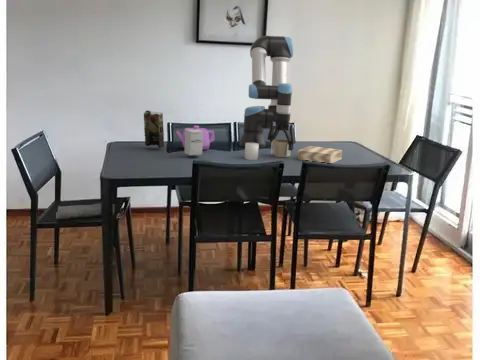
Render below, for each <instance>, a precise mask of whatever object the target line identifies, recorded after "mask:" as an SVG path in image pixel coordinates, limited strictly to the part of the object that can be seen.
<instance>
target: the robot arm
mask: <svg viewBox="0 0 480 360" xmlns="http://www.w3.org/2000/svg"><path fill="white" fill-rule="evenodd" d="M293 43H294V42H293V39H292V38H291V37H289V36H282V35H281V36H279V35H278V36H277V35H262V36H259V37H258V38H257V39H256V40H255V41H253V43H252V45H251V47H250V50H249V55H250V58H251V83H250V84H249V85H248V98H250V99H255V100H270V104H269V105H268V106H267V107H268V108H266V107H265V106H264V105H255V106H248V107H246V108H245V109H244V114H243V119H244V120H243V133H242V135H241V137H240V140H239V141H240V142H239V146H240V147H243V148H245V143H248V142H253V143H258V144H259V149H262V148H265V147H266V144H267V143H266V139H267V140H269V142H270V144H269V147H270V154H271V155H273V154H274V144H273V140H274V139H277V136H278V134H279V133H280V131H282V132H283V133H284V134H285V137H286V140H287V141H288V144H287V153H286V157H291V151H292V149H293V144H296V142H297V141H296V134H295V124H291V123H290V120H291V111H292V96H293V95H292V94H293V85H292V84H291V83H287V80H288V79H287V76H288V63H289V62H290V61H291V58H293V57H294V44H293ZM267 57H269V59H270V61H271V63H272V69H271V70H272V71H271V72H272V74H271V84H270V85H269V84H268V85H267V80H266V79H267V77H266V74H267V72H266V58H267ZM268 129H269V131H268V135H267V138H266V139H265V136H264V130H268Z"/></svg>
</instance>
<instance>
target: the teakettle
mask: <svg viewBox="0 0 480 360" xmlns="http://www.w3.org/2000/svg"><path fill="white" fill-rule="evenodd" d="M185 130H201V131H203V146H202V150H209V149H210V146H211V145H210V144H211V143H212V142H214V141H215V130H210V129H209V130H208V129H207V128H205V127H204V128H203V127H200V126H199V125H193V127H185V128H184V129H183V133H181V132H180V130H176V131H175V133H176V135H177V137H178V138H179V140H180V142H181V144H182V147H183V148H184V149H185Z"/></svg>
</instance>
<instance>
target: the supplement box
mask: <svg viewBox="0 0 480 360" xmlns="http://www.w3.org/2000/svg"><path fill="white" fill-rule="evenodd" d="M202 146H203V131H201V130H185V148H184V154H186V155H188V156H202V155H203V149H202Z"/></svg>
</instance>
